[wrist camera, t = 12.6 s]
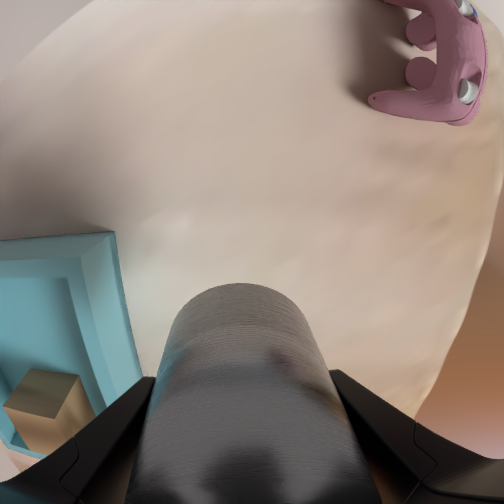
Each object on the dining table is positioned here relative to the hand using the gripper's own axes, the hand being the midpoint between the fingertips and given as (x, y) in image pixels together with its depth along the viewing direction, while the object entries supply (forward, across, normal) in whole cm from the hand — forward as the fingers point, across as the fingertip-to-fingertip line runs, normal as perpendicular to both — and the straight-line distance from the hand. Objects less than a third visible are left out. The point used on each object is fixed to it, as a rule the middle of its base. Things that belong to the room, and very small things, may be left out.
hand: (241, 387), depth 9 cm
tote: (+11, +15, +7) cm, 19 cm away
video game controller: (+11, -11, -14) cm, 21 cm away
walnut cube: (+10, +15, +11) cm, 21 cm away
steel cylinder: (+2, 0, 0) cm, 2 cm away
